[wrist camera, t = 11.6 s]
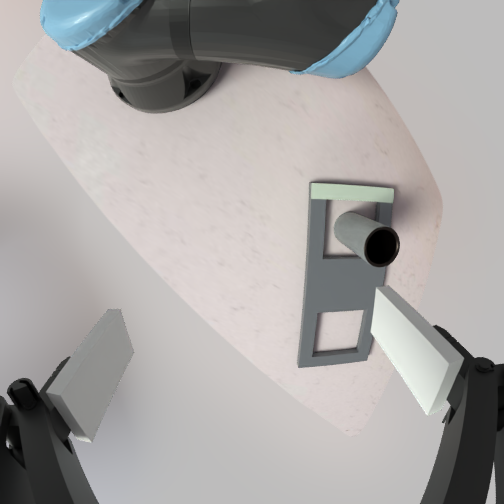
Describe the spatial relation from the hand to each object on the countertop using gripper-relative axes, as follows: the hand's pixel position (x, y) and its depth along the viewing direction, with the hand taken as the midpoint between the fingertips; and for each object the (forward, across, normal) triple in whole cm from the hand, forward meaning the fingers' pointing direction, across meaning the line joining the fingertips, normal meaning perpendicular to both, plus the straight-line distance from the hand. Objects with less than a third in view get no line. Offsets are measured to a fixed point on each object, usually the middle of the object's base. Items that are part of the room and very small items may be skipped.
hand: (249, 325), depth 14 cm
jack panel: (+24, +14, -10) cm, 30 cm away
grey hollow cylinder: (+25, +14, -2) cm, 29 cm away
